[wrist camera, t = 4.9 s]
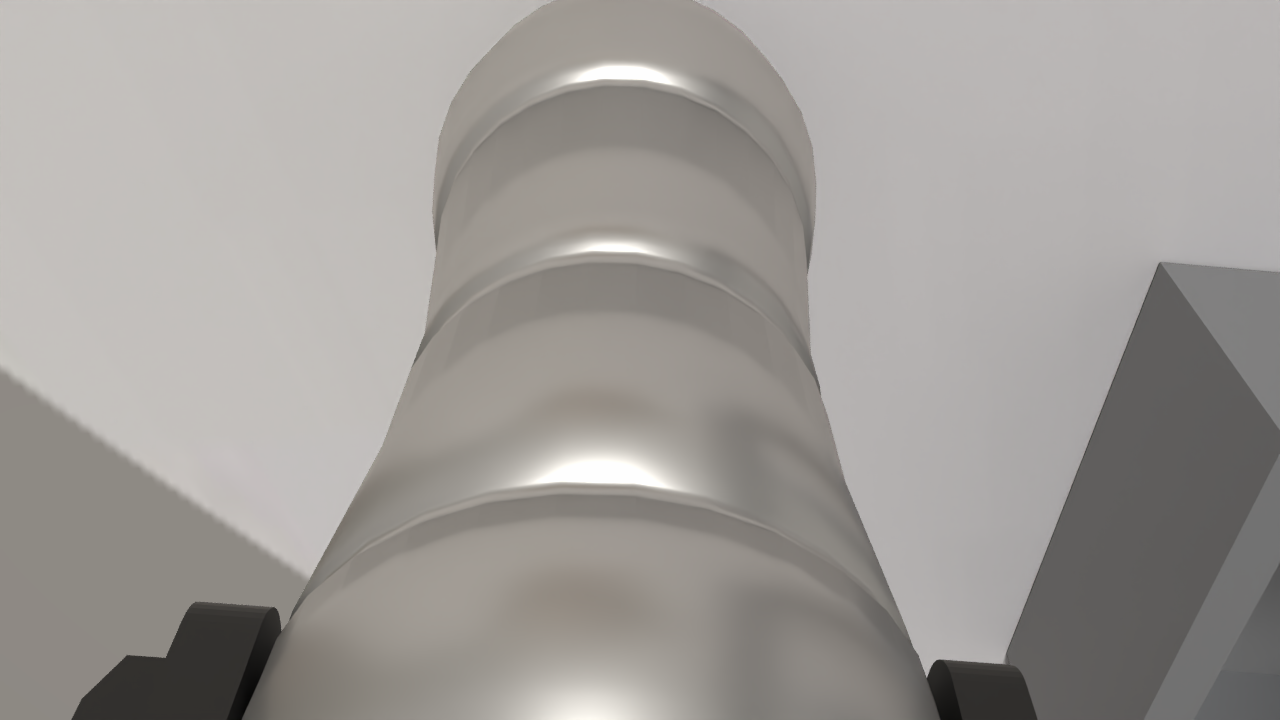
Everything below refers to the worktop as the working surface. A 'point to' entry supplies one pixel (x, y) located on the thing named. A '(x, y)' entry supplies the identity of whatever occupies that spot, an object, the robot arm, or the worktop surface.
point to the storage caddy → (1171, 521)
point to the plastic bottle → (608, 416)
